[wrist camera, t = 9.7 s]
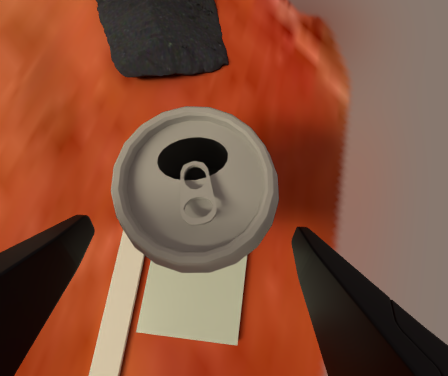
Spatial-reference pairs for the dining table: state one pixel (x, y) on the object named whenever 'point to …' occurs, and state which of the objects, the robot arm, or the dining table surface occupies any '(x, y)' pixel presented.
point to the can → (195, 189)
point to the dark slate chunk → (163, 36)
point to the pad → (193, 303)
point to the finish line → (118, 311)
